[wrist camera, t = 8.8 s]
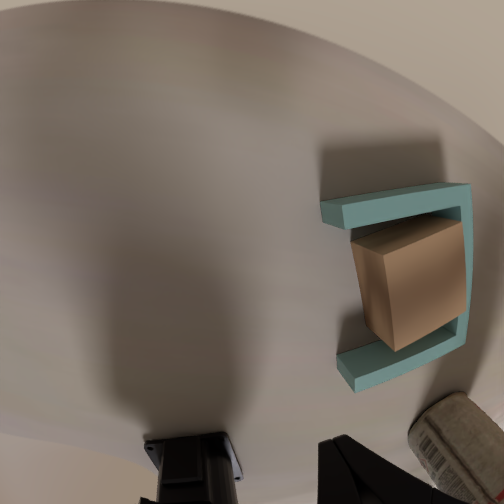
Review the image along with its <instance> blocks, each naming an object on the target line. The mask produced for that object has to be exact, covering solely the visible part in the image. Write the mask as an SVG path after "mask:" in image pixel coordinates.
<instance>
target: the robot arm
mask: <svg viewBox="0 0 504 504" xmlns="http://www.w3.org/2000/svg"><path fill="white" fill-rule="evenodd" d="M144 449H145V451H146V452H147V454H148V456H149V457H150V459H151V460H152V462H153V463H154V465H155V466H156V468H157V469H158V471H159V474H158V485H157V498H156V502H155V501H150V500H149V499H147V498H143V497H140V500H139V503H138V504H238V501H237V494H236V488H235V482H238V481H241V480H243V473H242V471H241V468H240V466H239V463H238V461H237V458H236V456H235V453H234V451H233V448H232V445H231V443H230V440H229V437H228V435H227V433H225V432H216V433H210V434H204V435H197V436H190V437H182V438H174V439H164V440H154V441H146V442H145V444H144ZM317 504H471V503H468V502H465V501H462V500H460V499H457V498H455V497H453V496H450V495H448V494H446V493H444V492H442V491H440V490H438V489H436V488H432V486H431V485H429V484H427V483H425V482H423V481H421V480H420V479H418V478H416V477H414V476H413V475H411V474H409V473H407V472H406V471H404V470H402V469H400V468H399V467H397V466H395V465H394V464H392V463H390V462H389V461H387V460H385V459H384V458H382V457H381V456H379V455H377V454H376V453H374V452H373V451H371V450H369V449H368V448H366V447H365V446H363V445H362V444H360V443H359V442H357V441H355V440H354V439H352V438H351V437H349V436H348V435H346V434H343V435H340V436H337V437H334V438H333V439H328V440H325V441H322V442H319V444H318V498H317Z"/></svg>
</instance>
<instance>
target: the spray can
mask: <svg viewBox="0 0 504 504" xmlns="http://www.w3.org/2000/svg"><path fill="white" fill-rule="evenodd" d="M409 433H410V434H409V436H408V441H409V446H410V448H411V449H412V451H413V453H414V454H415V456H416V457H417V458H418V460H419V461H420V463H421V465H422V466H423V467H424V468H425V469H426V471H427V473H428V474H429V475H430V477H431V479H432V480H433V481H434V482H435V484H436V486H437V488H438V489H439V490H440V491H442V492H444V493H446V494H448V495H450V496H453V497H455V498H457V499H460V500H462V501H465V502H468V503H471V504H504V432H503V430H502V429H501V428H500V427H499V426H498V425H497V424H496V423H495V422H494V421H492V419H491V418H490V417H489V416H488V415H487V414H486V413H485V412H484V411H482V410H481V409H480V408H479V407H478V406H477V405H476V404H475V403H474V402H473V401H471V400H470V399H469V398H468V397H467V395H466V394H465V393H464V392H456V393H453V394H451V395H449V396H448V397H446V398H445V399H443V400H441V401H439V402H438V403H436V404H435V405H433V406H432V407H430V408H429V409H427V410H426V411H425V412H424V413H423V415H422V416H421V417H420V418H419V420H418V421H417V422H416V423H415V424H414V426H413V427H412V429H411V430H410V432H409Z"/></svg>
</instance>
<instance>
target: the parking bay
mask: <svg viewBox="0 0 504 504" xmlns="http://www.w3.org/2000/svg"><path fill="white" fill-rule="evenodd" d="M320 206H321V212H322V219H323V222H324V223H327V224H330V225H333V226H335V227H338V228H341V229H344V230H346V229H351V228H356V227H360V226H365V225H370V224H375V223H379V222H384V221H389V220H394V219H398V218H403V217H408V216H413V215H417V214H422V213H427V212H432V216H436V217H441V218H447V219H452V220H456V221H461V222H462V225H463V235H464V246H465V262H466V311H465V312H464V313H462V314H460V315H459V316H457V317H456V318H454V319H452V320H451V321H449V322H448V323H446V324H444V325H443V326H441V327H439V328H438V329H436V330H434V331H432V332H431V333H429V334H427V335H425V336H424V337H422V338H420V339H418V340H416V341H415V342H413V343H411V344H409V345H407V346H405V347H403V348H402V349H400V350H398V351H396V352H395V351H394V350H392V349H391V348H390V347H389V346H388V345H387V344H386V343H385V342H384V341H383V340H380V341H377V342H374V343H371V344H368V345H365V346H362V347H360V348H357V349H354V350H351V351H347V352H344V353H341V354H338V355H337V369H338V370H339V372H340V373H341V375H342V376H343V377H344V379H345V380H346V382H347V383H348V384H349V386H350V387H351V389H352V390H353V391H354V393H357V392H359V391H362V390H365V389H368V388H370V387H373V386H375V385H378V384H380V383H383V382H385V381H388V380H390V379H393V378H395V377H397V376H400V375H402V374H404V373H407V372H409V371H411V370H413V369H416V368H418V367H420V366H422V365H424V364H426V363H428V362H431V361H433V360H435V359H437V358H439V357H441V356H443V355H445V354H447V353H449V352H451V351H452V350H454V349H456V348H458V347H460V346H462V345H464V344H465V341H466V334H467V327H468V319H469V311H470V301H471V289H472V272H473V211H472V194H471V184H462V183H445V182H440V183H432V184H425V185H419V186H412V187H405V188H399V189H392V190H386V191H379V192H373V193H367V194H361V195H355V196H349V197H343V198H337V199H332V200H326V201H320Z"/></svg>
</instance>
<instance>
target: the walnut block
mask: <svg viewBox="0 0 504 504" xmlns="http://www.w3.org/2000/svg"><path fill="white" fill-rule="evenodd" d="M351 247H352V251H353V256H354V261H355V266H356V271H357V276H358V281H359V287H360V292H361V298H362V303H363V309H364V315H365V322H366V326H367V327H368V328H369V329H370V330H372V331H373V332H374V333H375V334H376V335H377V336H378V337H379V338H380V339H381V340H383V341H384V342H385V343H386V344H387V345H388V346H389V347H390V348H391V349H392V350H394V351H395V352H396V351H398V350H400V349H402V348H403V347H405V346H407V345H409V344H411V343H413V342H415V341H416V340H418V339H420V338H422V337H424V336H425V335H427V334H429V333H431V332H432V331H434V330H436V329H438V328H439V327H441V326H443V325H444V324H446V323H448V322H449V321H451V320H452V319H454V318H456V317H457V316H459V315H460V314H462V313H464V312H465V311H466V262H465V246H464V235H463V225H462V222H461V221H456V220H452V219H447V218H441V217H436V216H431V215H426V214H423V215H421V216H418V217H415V218H413V219H410V220H407V221H405V222H402V223H399V224H397V225H394V226H391V227H389V228H386V229H383V230H381V231H378V232H375V233H373V234H370V235H367V236H364V237H362V238H359V239H356V240H353V241H351Z"/></svg>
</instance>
